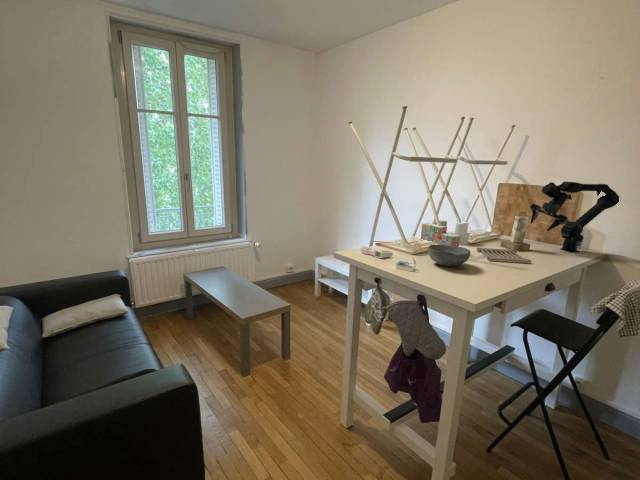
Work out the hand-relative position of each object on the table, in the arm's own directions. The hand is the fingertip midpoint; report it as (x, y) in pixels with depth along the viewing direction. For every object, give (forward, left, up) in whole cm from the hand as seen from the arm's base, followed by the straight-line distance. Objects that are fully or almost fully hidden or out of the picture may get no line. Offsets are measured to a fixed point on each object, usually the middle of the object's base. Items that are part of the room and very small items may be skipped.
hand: (538, 227), depth 184 cm
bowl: (+67, +23, -13) cm, 72 cm away
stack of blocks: (+55, -5, -13) cm, 57 cm away
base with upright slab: (+35, -17, -13) cm, 41 cm away
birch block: (+10, -3, -9) cm, 14 cm away
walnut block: (+10, -3, -13) cm, 17 cm away
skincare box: (+45, -23, -13) cm, 52 cm away
